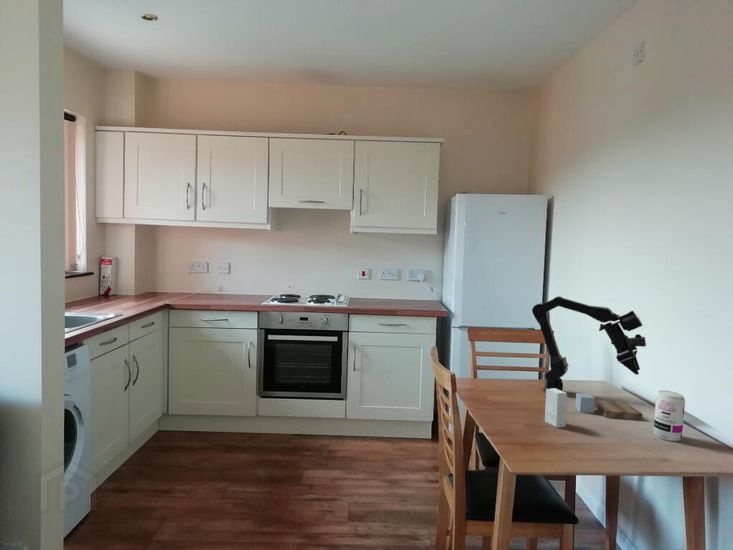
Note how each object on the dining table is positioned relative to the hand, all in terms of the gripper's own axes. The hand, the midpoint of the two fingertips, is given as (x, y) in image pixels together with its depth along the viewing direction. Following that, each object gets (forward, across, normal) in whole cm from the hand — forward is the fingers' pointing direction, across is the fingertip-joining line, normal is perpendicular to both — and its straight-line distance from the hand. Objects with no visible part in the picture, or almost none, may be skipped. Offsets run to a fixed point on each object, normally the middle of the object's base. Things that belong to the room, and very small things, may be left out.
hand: (638, 372), depth 187 cm
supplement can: (+19, -27, -1) cm, 33 cm away
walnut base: (+9, -11, +13) cm, 19 cm away
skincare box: (0, -41, +27) cm, 49 cm away
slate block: (+4, -17, +22) cm, 28 cm away
